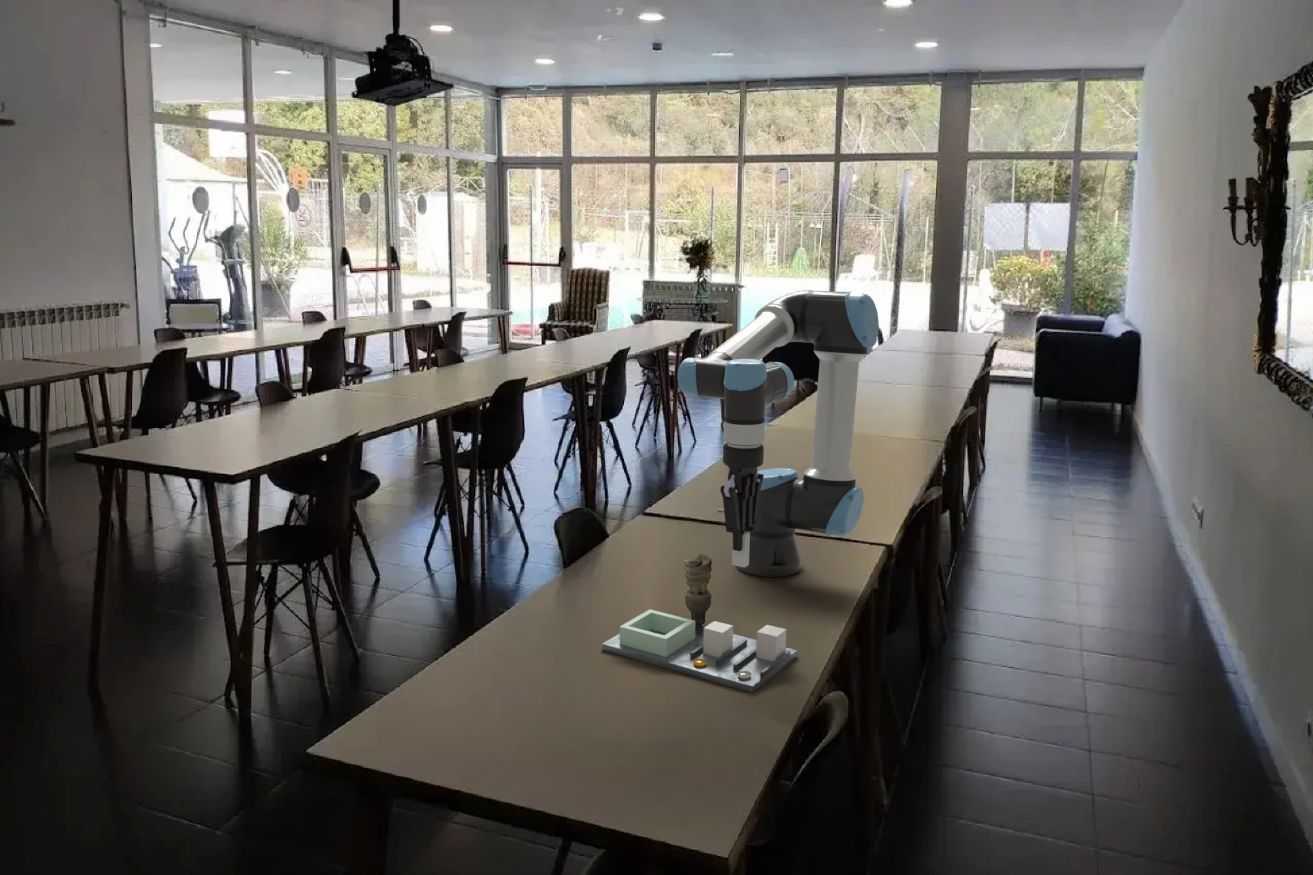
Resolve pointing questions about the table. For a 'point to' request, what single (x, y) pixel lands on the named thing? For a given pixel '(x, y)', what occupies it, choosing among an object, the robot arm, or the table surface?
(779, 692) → the table surface
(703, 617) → the light bulb
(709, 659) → the panel
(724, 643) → the block
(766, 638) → the block
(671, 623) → the socket
